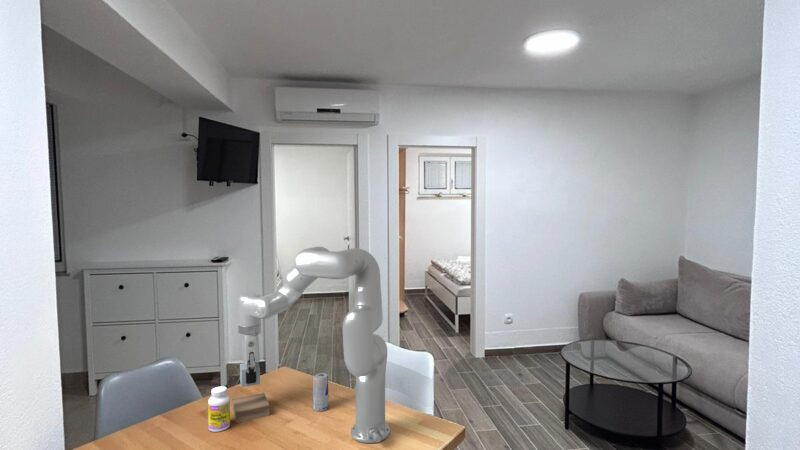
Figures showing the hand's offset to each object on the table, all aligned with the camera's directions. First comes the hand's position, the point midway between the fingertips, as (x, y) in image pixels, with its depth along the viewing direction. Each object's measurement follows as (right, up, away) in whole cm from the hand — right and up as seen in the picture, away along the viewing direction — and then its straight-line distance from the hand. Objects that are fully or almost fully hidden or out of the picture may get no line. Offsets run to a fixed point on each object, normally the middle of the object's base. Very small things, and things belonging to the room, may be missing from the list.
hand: (249, 378), depth 146 cm
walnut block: (0, -12, 0) cm, 12 cm away
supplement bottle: (-6, -13, -10) cm, 17 cm away
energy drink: (+24, -12, +3) cm, 27 cm away
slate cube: (0, -1, 0) cm, 1 cm away
